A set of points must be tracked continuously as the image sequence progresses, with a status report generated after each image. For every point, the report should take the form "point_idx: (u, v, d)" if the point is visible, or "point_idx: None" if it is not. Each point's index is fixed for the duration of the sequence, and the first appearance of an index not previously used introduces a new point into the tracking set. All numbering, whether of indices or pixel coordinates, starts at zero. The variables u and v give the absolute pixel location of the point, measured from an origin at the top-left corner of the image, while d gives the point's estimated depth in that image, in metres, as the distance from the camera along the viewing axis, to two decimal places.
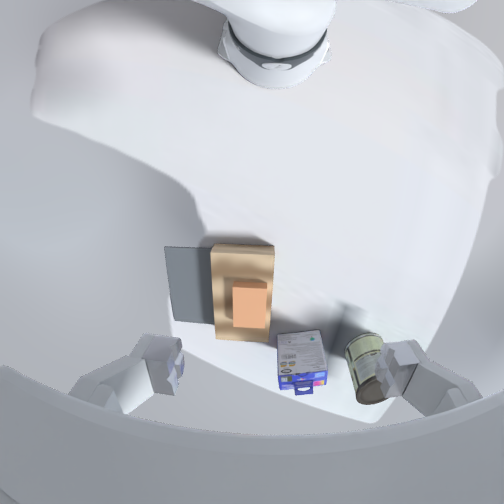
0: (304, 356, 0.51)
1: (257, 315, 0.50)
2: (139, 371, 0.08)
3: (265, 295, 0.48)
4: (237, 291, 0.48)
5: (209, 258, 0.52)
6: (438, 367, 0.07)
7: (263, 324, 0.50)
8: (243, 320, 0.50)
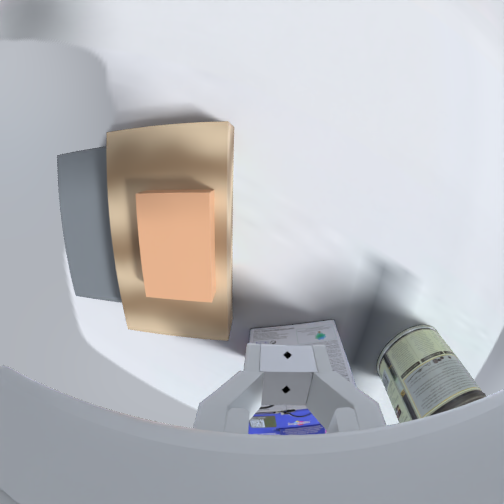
0: None
1: (193, 266, 0.21)
2: (257, 385, 0.08)
3: (206, 211, 0.20)
4: (145, 203, 0.20)
5: None
6: (338, 379, 0.08)
7: (208, 291, 0.22)
8: (163, 280, 0.22)
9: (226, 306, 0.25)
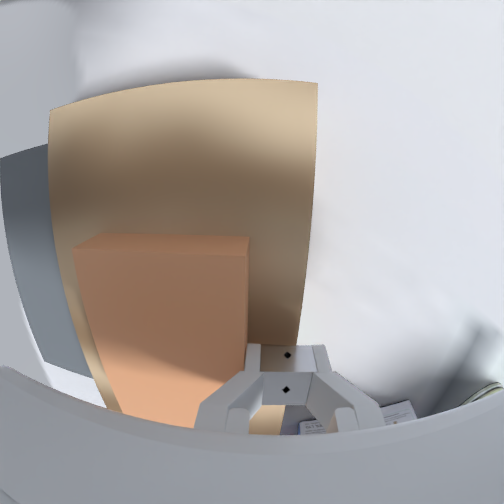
0: None
1: (207, 394, 0.10)
2: (258, 385, 0.08)
3: (236, 300, 0.08)
4: (93, 272, 0.08)
5: None
6: (338, 380, 0.08)
7: None
8: (152, 405, 0.10)
9: (280, 424, 0.13)
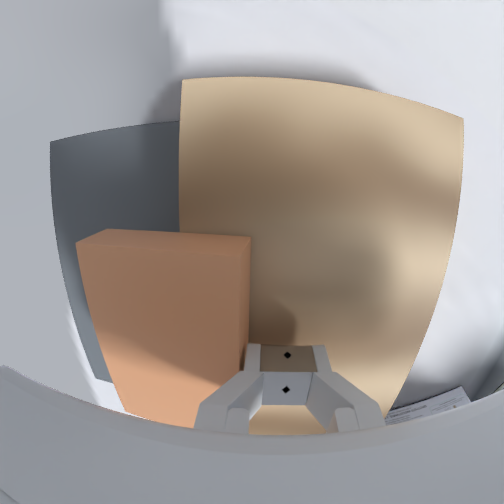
0: None
1: (203, 394, 0.09)
2: (258, 385, 0.08)
3: (231, 301, 0.08)
4: (95, 267, 0.08)
5: None
6: (338, 379, 0.08)
7: None
8: (150, 400, 0.10)
9: (385, 414, 0.13)
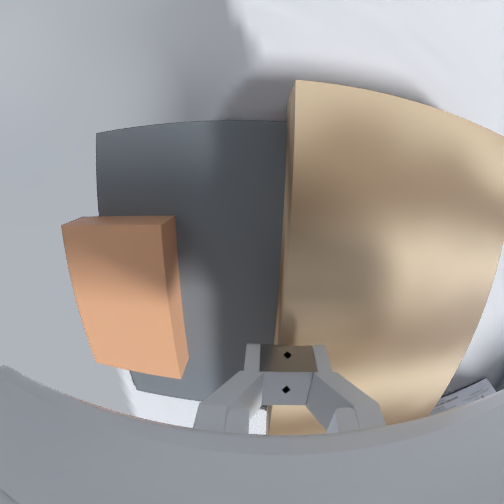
0: None
1: None
2: (257, 385, 0.08)
3: None
4: None
5: (263, 161, 0.12)
6: (338, 380, 0.08)
7: None
8: None
9: (435, 404, 0.12)
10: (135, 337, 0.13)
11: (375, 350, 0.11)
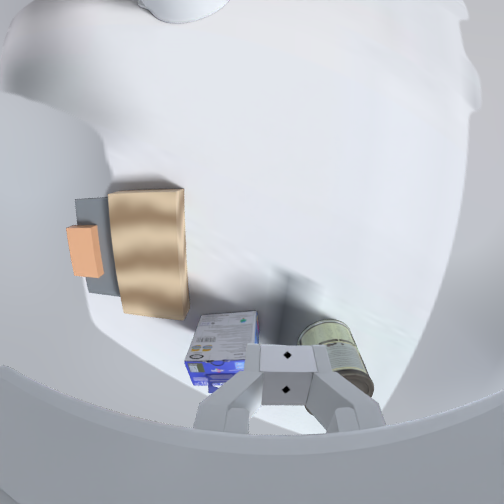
0: (226, 340, 0.38)
1: None
2: (257, 385, 0.08)
3: None
4: None
5: None
6: (338, 379, 0.08)
7: None
8: None
9: (181, 298, 0.40)
10: (86, 262, 0.41)
11: (138, 263, 0.39)
